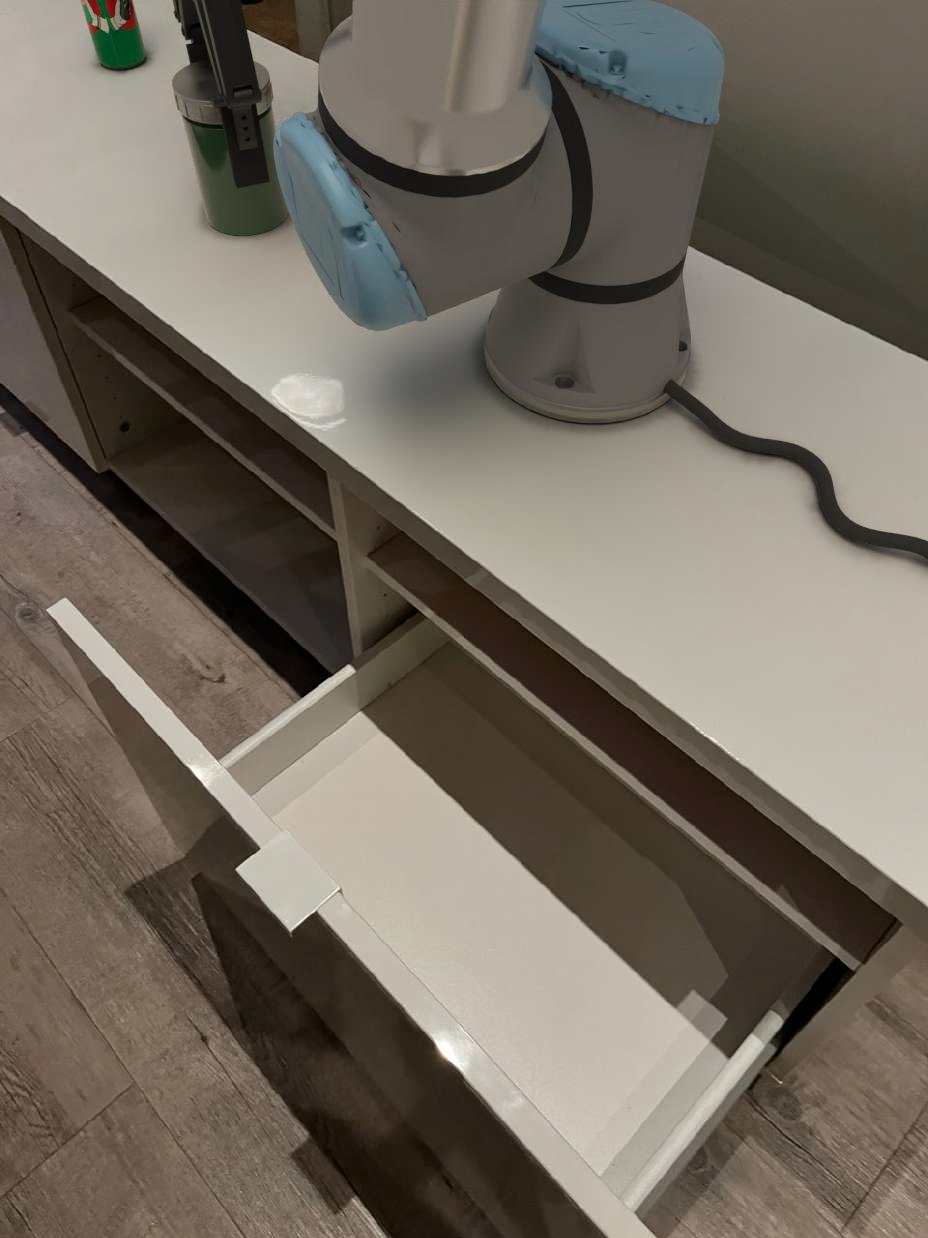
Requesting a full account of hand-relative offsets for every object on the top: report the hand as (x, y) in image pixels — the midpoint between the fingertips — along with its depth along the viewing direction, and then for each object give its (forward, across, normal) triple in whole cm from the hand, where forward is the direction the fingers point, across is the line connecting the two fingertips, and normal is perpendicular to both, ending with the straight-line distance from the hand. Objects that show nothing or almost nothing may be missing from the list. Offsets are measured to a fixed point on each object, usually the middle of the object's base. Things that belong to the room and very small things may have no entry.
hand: (235, 152), depth 77 cm
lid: (-6, 0, 0) cm, 6 cm away
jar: (+5, 0, 0) cm, 5 cm away
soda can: (+5, -34, -4) cm, 35 cm away
